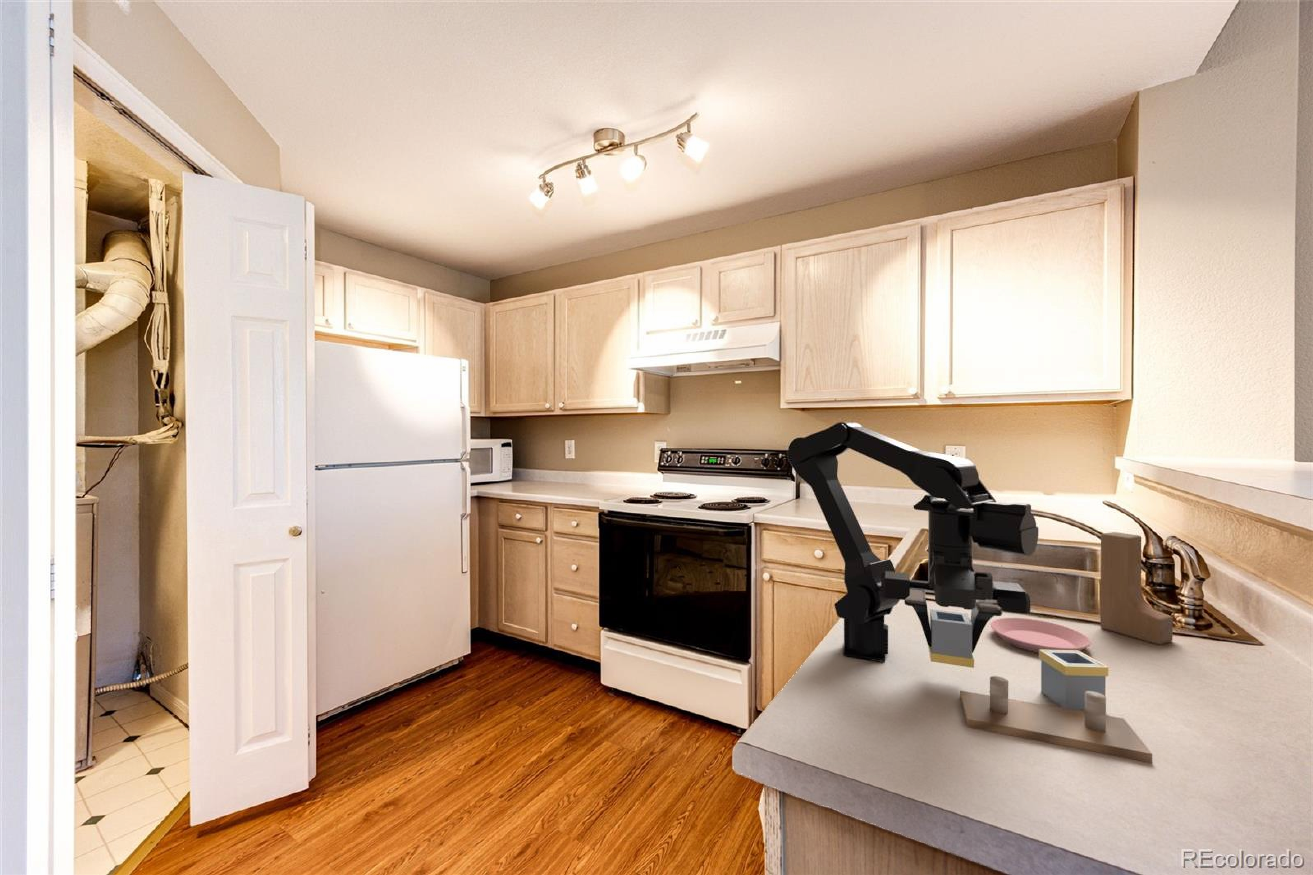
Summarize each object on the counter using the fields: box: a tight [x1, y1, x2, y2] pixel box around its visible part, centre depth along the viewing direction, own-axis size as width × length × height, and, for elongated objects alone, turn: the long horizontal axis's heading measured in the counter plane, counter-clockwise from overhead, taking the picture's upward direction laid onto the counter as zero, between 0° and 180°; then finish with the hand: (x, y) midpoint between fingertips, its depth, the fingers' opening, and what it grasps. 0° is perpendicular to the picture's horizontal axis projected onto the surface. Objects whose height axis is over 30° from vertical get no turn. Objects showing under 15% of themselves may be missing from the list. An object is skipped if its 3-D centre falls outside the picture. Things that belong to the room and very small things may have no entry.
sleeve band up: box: [1038, 650, 1109, 712], centre depth 73 cm, size 5×5×6 cm
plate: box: [990, 617, 1091, 654], centre depth 93 cm, size 14×14×2 cm
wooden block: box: [1099, 531, 1174, 646], centre depth 96 cm, size 9×4×18 cm, turn 24°
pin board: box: [959, 675, 1153, 764], centre depth 66 cm, size 18×8×5 cm, turn 66°
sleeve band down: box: [927, 609, 975, 669], centre depth 78 cm, size 5×5×6 cm
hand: (950, 648), depth 78 cm, fingers closed on sleeve band down, 5 cm apart
